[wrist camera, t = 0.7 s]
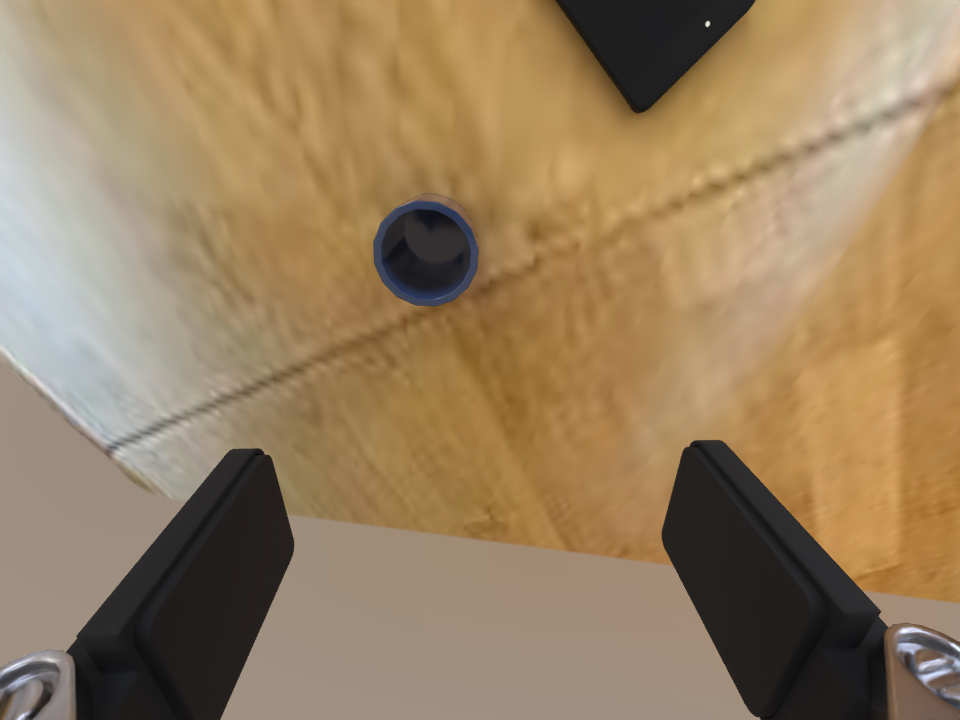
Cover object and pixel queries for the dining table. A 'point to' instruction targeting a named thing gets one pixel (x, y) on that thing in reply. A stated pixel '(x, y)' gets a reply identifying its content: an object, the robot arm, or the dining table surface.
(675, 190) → the dining table surface
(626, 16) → the cell phone
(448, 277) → the blue plastic cup
